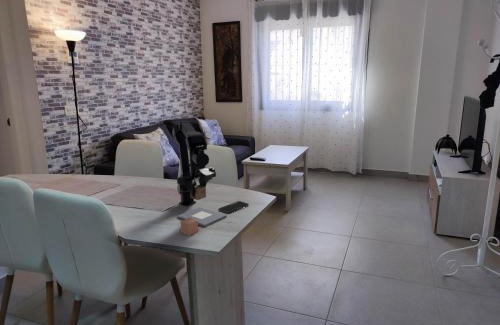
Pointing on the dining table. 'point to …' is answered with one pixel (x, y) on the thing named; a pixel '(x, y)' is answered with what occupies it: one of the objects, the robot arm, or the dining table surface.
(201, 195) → the walnut cube
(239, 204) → the phone
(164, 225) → the dining table surface
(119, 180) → the dining table surface
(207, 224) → the board
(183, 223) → the terracotta cube
